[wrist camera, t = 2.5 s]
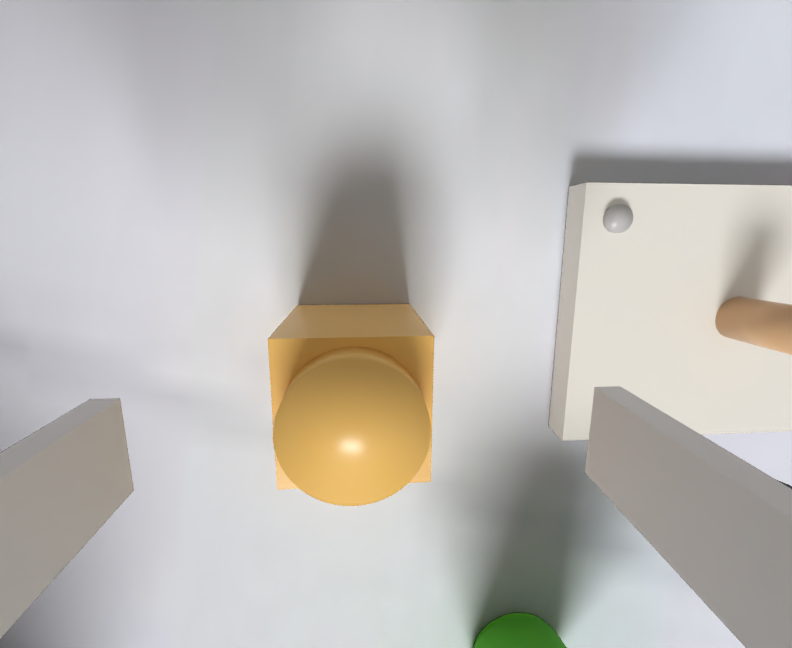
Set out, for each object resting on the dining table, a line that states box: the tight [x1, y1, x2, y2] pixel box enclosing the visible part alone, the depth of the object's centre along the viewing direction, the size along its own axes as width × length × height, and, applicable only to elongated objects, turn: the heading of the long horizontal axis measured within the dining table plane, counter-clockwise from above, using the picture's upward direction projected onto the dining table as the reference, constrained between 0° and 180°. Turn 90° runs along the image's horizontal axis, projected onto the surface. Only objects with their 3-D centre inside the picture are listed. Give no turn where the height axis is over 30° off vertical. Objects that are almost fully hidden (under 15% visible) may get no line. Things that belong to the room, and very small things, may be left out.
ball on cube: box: [268, 304, 434, 506], centre depth 16 cm, size 5×5×8 cm
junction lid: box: [549, 182, 792, 441], centre depth 18 cm, size 16×12×6 cm
